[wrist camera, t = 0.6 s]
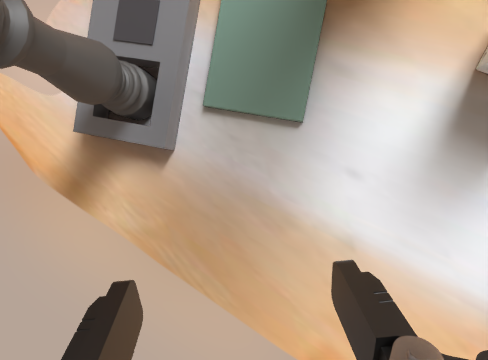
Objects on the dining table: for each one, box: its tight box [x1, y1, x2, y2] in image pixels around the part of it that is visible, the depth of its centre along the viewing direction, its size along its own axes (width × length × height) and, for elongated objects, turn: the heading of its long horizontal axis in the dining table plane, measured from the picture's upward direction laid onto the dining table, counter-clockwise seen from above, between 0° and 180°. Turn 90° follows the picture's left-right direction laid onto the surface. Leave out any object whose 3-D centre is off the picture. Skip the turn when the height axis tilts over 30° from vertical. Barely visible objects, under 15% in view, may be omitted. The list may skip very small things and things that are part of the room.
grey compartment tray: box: [73, 0, 200, 150], centre depth 37 cm, size 22×12×4 cm, turn 169°
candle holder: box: [0, 0, 157, 120], centre depth 27 cm, size 6×6×25 cm
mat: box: [203, 0, 327, 122], centre depth 36 cm, size 14×12×1 cm
